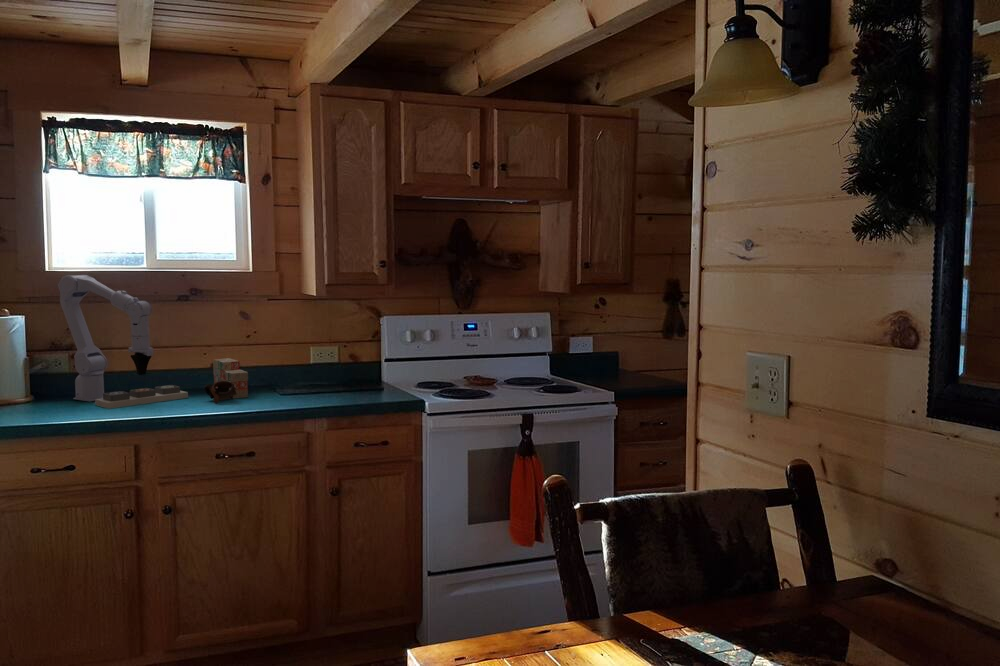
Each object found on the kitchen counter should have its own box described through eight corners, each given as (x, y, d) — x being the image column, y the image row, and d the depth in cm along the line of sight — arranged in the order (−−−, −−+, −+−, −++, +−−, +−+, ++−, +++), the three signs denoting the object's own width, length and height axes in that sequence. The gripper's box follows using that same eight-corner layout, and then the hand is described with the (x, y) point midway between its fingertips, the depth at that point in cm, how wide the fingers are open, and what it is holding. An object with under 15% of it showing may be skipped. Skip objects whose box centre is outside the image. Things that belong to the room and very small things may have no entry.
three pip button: (139, 395, 275) (139, 391, 275) (133, 394, 278) (133, 389, 278) (151, 394, 278) (151, 389, 278) (145, 392, 281) (145, 388, 281)
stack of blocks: (248, 397, 288) (247, 363, 287) (231, 399, 284) (230, 365, 283) (230, 389, 305) (229, 357, 304) (213, 390, 301) (212, 358, 300)
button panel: (108, 408, 264) (107, 396, 264) (95, 405, 271) (94, 393, 271) (188, 397, 286) (187, 386, 285) (174, 394, 292) (173, 383, 292)
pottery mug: (241, 400, 285) (241, 382, 280) (228, 416, 277) (228, 398, 272) (210, 390, 286) (209, 372, 281) (196, 406, 278) (195, 388, 273)
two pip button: (112, 399, 268) (112, 394, 268) (107, 397, 271) (106, 393, 271) (125, 397, 272) (125, 392, 271) (120, 396, 274) (119, 391, 274)
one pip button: (164, 392, 282) (164, 387, 282) (158, 390, 285) (158, 386, 284) (176, 390, 285) (176, 386, 285) (170, 389, 288) (170, 385, 288)
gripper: (161, 336, 274) (163, 375, 276) (142, 333, 284) (143, 371, 285) (141, 338, 269) (142, 377, 270) (122, 335, 279) (123, 373, 280)
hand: (141, 374), depth 277 cm, fingers closed
